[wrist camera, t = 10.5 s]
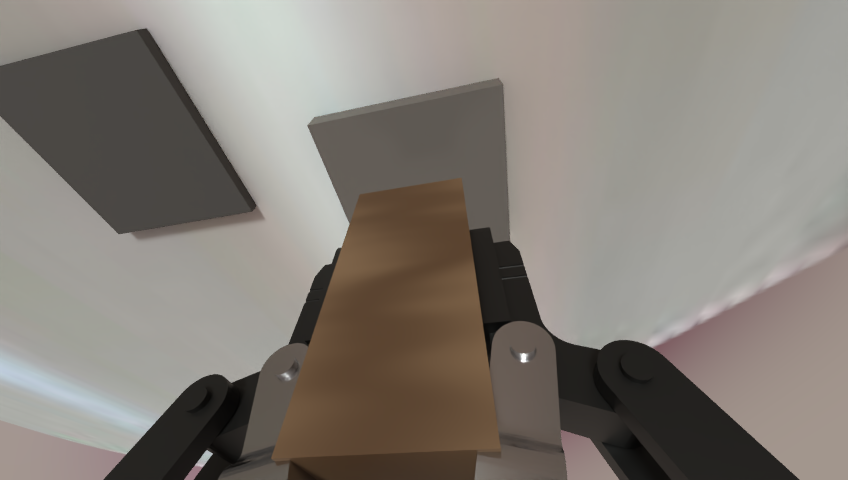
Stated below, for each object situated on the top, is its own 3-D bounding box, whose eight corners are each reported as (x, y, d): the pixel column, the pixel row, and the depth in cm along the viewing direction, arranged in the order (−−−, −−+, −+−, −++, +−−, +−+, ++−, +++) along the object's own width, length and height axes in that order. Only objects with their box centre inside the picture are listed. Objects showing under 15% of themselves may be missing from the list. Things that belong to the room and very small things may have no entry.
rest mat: (146, 28, 13) (136, 29, 13) (256, 205, 19) (251, 211, 19) (-25, 73, 15) (-40, 76, 14) (125, 228, 20) (118, 234, 20)
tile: (502, 84, 14) (509, 243, 19) (496, 76, 15) (505, 227, 20) (307, 125, 15) (366, 263, 20) (316, 114, 16) (370, 247, 22)
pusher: (461, 177, 11) (500, 448, 5) (472, 255, 13) (507, 508, 7) (359, 194, 11) (271, 458, 5) (386, 266, 13) (347, 511, 7)
